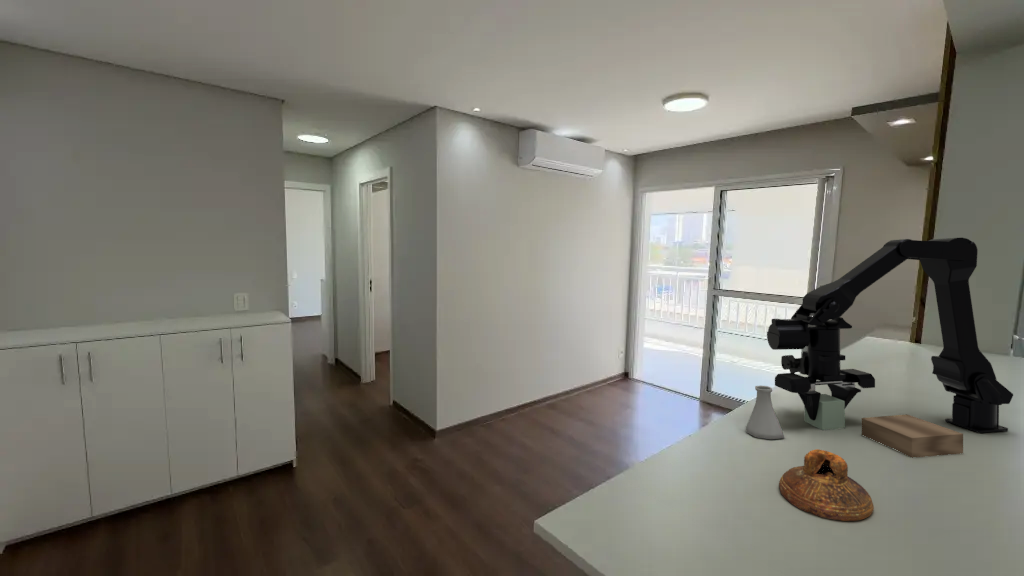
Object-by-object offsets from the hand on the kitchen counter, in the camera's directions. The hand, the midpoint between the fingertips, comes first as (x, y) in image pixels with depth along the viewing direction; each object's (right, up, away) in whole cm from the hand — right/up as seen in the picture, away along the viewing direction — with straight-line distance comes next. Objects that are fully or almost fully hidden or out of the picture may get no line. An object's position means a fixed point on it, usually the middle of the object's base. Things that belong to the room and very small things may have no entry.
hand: (824, 418), depth 90 cm
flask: (-15, -3, -3) cm, 15 cm away
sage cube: (0, -1, 0) cm, 1 cm away
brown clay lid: (-20, -4, -27) cm, 34 cm away
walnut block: (+9, -2, -11) cm, 14 cm away
